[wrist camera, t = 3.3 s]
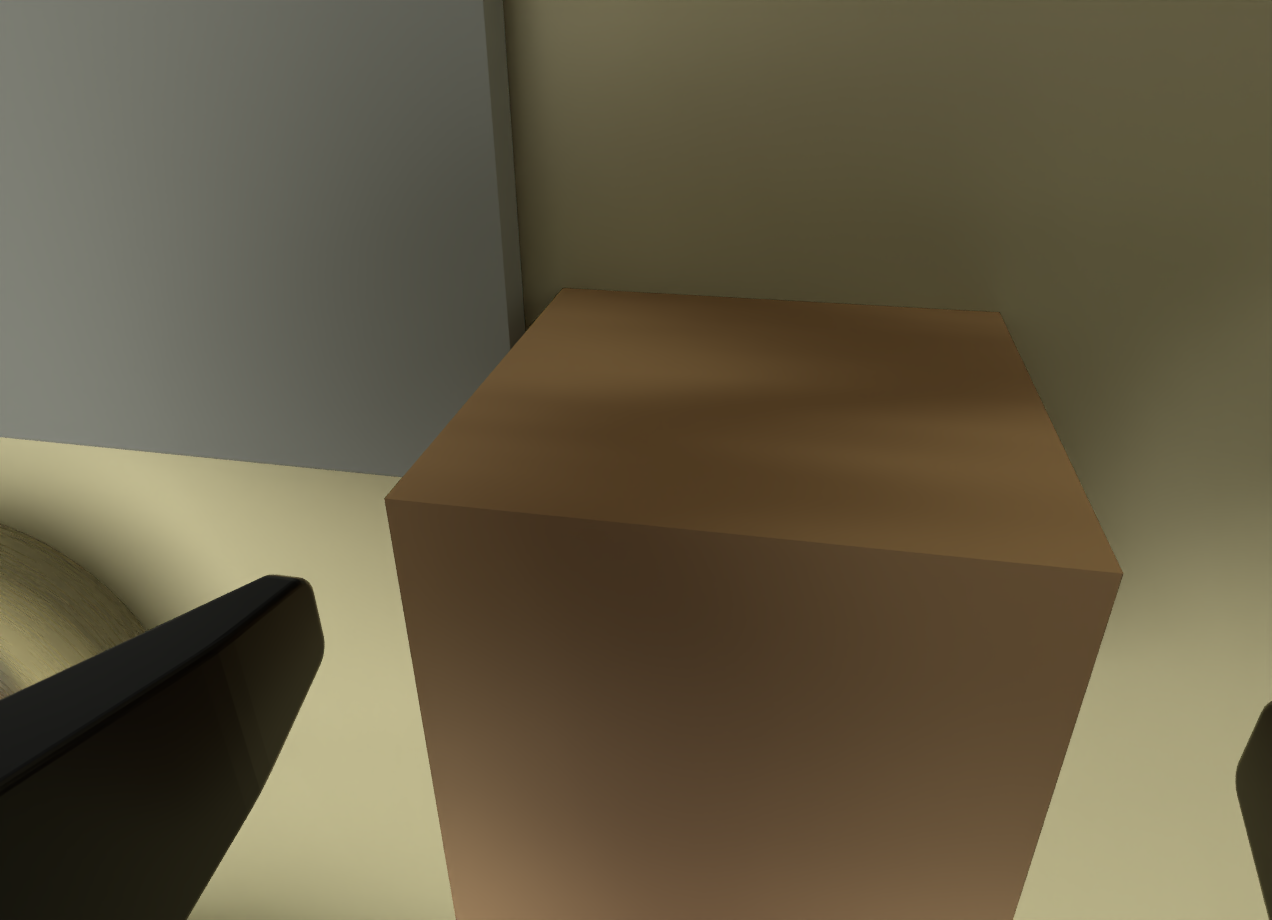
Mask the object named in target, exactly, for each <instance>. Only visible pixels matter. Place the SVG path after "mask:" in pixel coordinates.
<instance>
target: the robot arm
mask: <svg viewBox="0 0 1272 920" xmlns="http://www.w3.org/2000/svg"><path fill="white" fill-rule="evenodd" d="M323 654H324V636H323V631H322V627H321V622H320V618H319V614H318V609H317V605H316V600H315V596H314V592H313V589H312V586H311V585H310V583H309V582H308V581H307V580H305V579H303V578H299V577H291V576H283V575H266V576H264V577H262V578H259V579H257V580H255V581H253V582H251V583H249V584H247V585H244V586H242V587H240V588H238V589H236V590H234V591H232V592H229V593H227V594H225V595H223V596H221V597H219V598H217V599H215V600H212V601H210V602H208V603H206V604H204V605H202V606H200V607H197V608H195V609H193V610H191V611H189V612H187V613H185V614H182V615H180V616H178V617H176V618H174V619H172V620H170V621H167V622H165V623H163V624H161V625H159V626H157V627H155V628H153V629H150V630H148V631H146V632H144V633H142V634H140V635H138V636H135V637H133V638H131V639H129V640H127V641H125V642H123V643H120V644H118V645H116V646H114V647H112V648H110V649H108V650H106V651H103V652H101V653H99V654H97V655H95V656H93V657H91V658H88V659H86V660H84V661H82V662H80V663H78V664H76V665H73V666H71V667H69V668H67V669H65V670H63V671H61V672H58V673H56V674H54V675H52V676H50V677H48V678H46V679H44V680H41V681H39V682H37V683H35V684H33V685H31V686H29V687H26V688H24V689H22V690H20V691H18V692H16V693H14V694H11V695H9V696H7V697H5V698H3V699H1V700H0V920H187V918H188V916H189V915H190V913H191V911H192V910H193V908H194V906H195V904H196V903H197V901H198V899H199V898H200V896H201V894H202V893H203V891H204V889H205V888H206V886H207V884H208V882H209V881H210V879H211V877H212V876H213V874H214V872H215V871H216V869H217V867H218V865H219V864H220V862H221V860H222V859H223V857H224V855H225V854H226V852H227V850H228V848H229V847H230V845H231V843H232V842H233V840H234V838H235V837H236V835H237V833H238V832H239V830H240V828H241V826H242V825H243V823H244V821H245V820H246V818H247V816H248V815H249V813H250V811H251V809H252V807H253V806H254V804H255V802H256V800H257V798H258V797H259V795H260V793H261V791H262V789H263V787H264V785H265V783H266V781H267V779H268V777H269V775H270V773H271V771H272V769H273V767H274V765H275V762H276V760H277V758H278V756H279V754H280V752H281V749H282V747H283V745H284V743H285V741H286V739H287V736H288V734H289V732H290V730H291V728H292V725H293V723H294V721H295V719H296V717H297V715H298V712H299V710H300V708H301V706H302V704H303V702H304V699H305V697H306V695H307V693H308V691H309V688H310V686H311V684H312V682H313V680H314V678H315V675H316V673H317V671H318V669H319V667H320V664H321V662H322V658H323ZM1236 791H1237V796H1238V800H1239V804H1240V808H1241V812H1242V816H1243V820H1244V824H1245V827H1246V831H1247V835H1248V839H1249V843H1250V847H1251V851H1252V855H1253V859H1254V863H1255V866H1256V870H1257V874H1258V878H1259V882H1260V886H1261V890H1262V894H1263V898H1264V902H1265V906H1266V909H1267V913H1268V917H1269V920H1272V701H1271V702H1269V703H1268V704H1267V705H1266V706H1265V707H1264V709H1263V711H1262V712H1261V714H1260V717H1259V719H1258V721H1257V723H1256V725H1255V727H1254V730H1253V732H1252V734H1251V736H1250V738H1249V741H1248V743H1247V745H1246V747H1245V749H1244V752H1243V754H1242V756H1241V758H1240V760H1239V763H1238V766H1237V771H1236Z"/></svg>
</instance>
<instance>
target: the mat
mask: <svg viewBox="0 0 1272 920" xmlns="http://www.w3.org/2000/svg"><path fill="white" fill-rule="evenodd" d="M524 333H525V318H524V303H523V289H522V274H521V259H520V245H519V230H518V216H517V201H516V186H515V172H514V157H513V143H512V128H511V113H510V99H509V84H508V70H507V55H506V40H505V26H504V11H503V0H0V437H5V438H15V439H25V440H35V441H45V442H55V443H65V444H75V445H85V446H95V447H105V448H115V449H125V450H135V451H145V452H155V453H165V454H175V455H185V456H195V457H205V458H215V459H225V460H235V461H245V462H255V463H265V464H275V465H285V466H295V467H305V468H315V469H325V470H335V471H345V472H355V473H365V474H375V475H385V476H395V477H403V476H404V475H405V474H406V473H407V471H408V470H409V469H410V468H411V467H412V465H413V464H414V463H415V462H416V461H417V460H418V458H419V457H420V456H421V455H422V454H423V452H424V451H425V450H426V449H427V448H428V447H429V445H430V444H431V443H432V442H433V441H434V439H435V438H436V437H437V436H438V435H439V434H440V432H441V431H442V430H443V429H444V428H445V427H446V425H447V424H448V423H449V422H450V421H451V419H452V418H453V417H454V416H455V415H456V414H457V412H458V411H459V410H460V409H461V408H462V406H463V405H464V404H465V403H466V402H467V401H468V399H469V398H470V397H471V396H472V395H473V393H474V392H475V391H476V390H477V389H478V388H479V386H480V385H481V384H482V383H483V382H484V381H485V379H486V378H487V377H488V376H489V375H490V373H491V372H492V371H493V370H494V369H495V368H496V366H497V365H498V364H499V363H500V362H501V360H502V359H503V358H504V357H505V356H506V355H507V353H508V352H509V351H510V350H511V349H512V347H513V346H514V345H515V344H516V343H517V342H518V340H519V339H520V338H521V337H522V336H523V334H524Z"/></svg>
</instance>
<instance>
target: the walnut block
mask: <svg viewBox="0 0 1272 920" xmlns="http://www.w3.org/2000/svg"><path fill="white" fill-rule="evenodd" d="M384 499H385V505H386V511H387V516H388V522H389V528H390V534H391V540H392V546H393V552H394V558H395V564H396V569H397V575H398V581H399V587H400V593H401V599H402V605H403V611H404V616H405V622H406V628H407V634H408V640H409V646H410V652H411V658H412V664H413V669H414V675H415V681H416V687H417V693H418V699H419V705H420V711H421V716H422V722H423V728H424V734H425V740H426V746H427V752H428V758H429V764H430V769H431V775H432V781H433V787H434V793H435V799H436V805H437V811H438V816H439V822H440V828H441V834H442V840H443V846H444V852H445V858H446V864H447V869H448V875H449V881H450V887H451V893H452V899H453V905H454V911H455V916H456V920H1013V917H1014V914H1015V911H1016V908H1017V905H1018V902H1019V899H1020V896H1021V892H1022V889H1023V886H1024V883H1025V880H1026V877H1027V874H1028V871H1029V867H1030V864H1031V861H1032V858H1033V855H1034V852H1035V849H1036V845H1037V842H1038V839H1039V836H1040V833H1041V830H1042V827H1043V824H1044V820H1045V817H1046V814H1047V811H1048V808H1049V805H1050V802H1051V798H1052V795H1053V792H1054V789H1055V786H1056V783H1057V780H1058V777H1059V773H1060V770H1061V767H1062V764H1063V761H1064V758H1065V755H1066V751H1067V748H1068V745H1069V742H1070V739H1071V736H1072V733H1073V730H1074V726H1075V723H1076V720H1077V717H1078V714H1079V711H1080V708H1081V705H1082V701H1083V698H1084V695H1085V692H1086V689H1087V686H1088V683H1089V679H1090V676H1091V673H1092V670H1093V667H1094V664H1095V661H1096V658H1097V654H1098V651H1099V648H1100V645H1101V642H1102V639H1103V636H1104V632H1105V629H1106V626H1107V623H1108V620H1109V617H1110V614H1111V611H1112V607H1113V604H1114V601H1115V598H1116V595H1117V592H1118V589H1119V585H1120V582H1121V579H1122V576H1123V572H1122V570H1121V568H1120V566H1119V564H1118V561H1117V559H1116V557H1115V555H1114V553H1113V551H1112V549H1111V547H1110V545H1109V542H1108V540H1107V538H1106V536H1105V534H1104V532H1103V530H1102V528H1101V526H1100V523H1099V521H1098V519H1097V517H1096V515H1095V513H1094V511H1093V509H1092V507H1091V504H1090V502H1089V500H1088V498H1087V496H1086V494H1085V492H1084V490H1083V488H1082V485H1081V483H1080V481H1079V479H1078V477H1077V475H1076V473H1075V471H1074V469H1073V466H1072V464H1071V462H1070V460H1069V458H1068V456H1067V454H1066V452H1065V450H1064V447H1063V445H1062V443H1061V441H1060V439H1059V437H1058V435H1057V433H1056V431H1055V428H1054V426H1053V424H1052V422H1051V420H1050V418H1049V416H1048V414H1047V412H1046V409H1045V407H1044V405H1043V403H1042V401H1041V399H1040V397H1039V395H1038V393H1037V390H1036V388H1035V386H1034V384H1033V382H1032V380H1031V378H1030V376H1029V374H1028V372H1027V369H1026V367H1025V365H1024V363H1023V361H1022V359H1021V357H1020V355H1019V353H1018V350H1017V348H1016V346H1015V344H1014V342H1013V340H1012V338H1011V336H1010V334H1009V331H1008V329H1007V327H1006V325H1005V323H1004V321H1003V319H1002V317H1001V315H1000V312H983V311H965V310H947V309H929V308H912V307H894V306H876V305H858V304H840V303H822V302H804V301H787V300H769V299H751V298H733V297H715V296H697V295H679V294H662V293H644V292H626V291H608V290H590V289H572V288H562V290H561V291H560V292H559V293H558V294H557V296H556V297H555V298H554V299H553V300H552V301H551V303H550V304H549V305H548V306H547V307H546V309H545V310H544V311H543V312H542V313H541V314H540V316H539V317H538V318H537V319H536V320H535V322H534V323H533V324H532V325H531V326H530V327H529V329H528V330H527V331H526V332H525V333H524V334H523V336H522V337H521V338H520V339H519V340H518V342H517V343H516V344H515V345H514V346H513V347H512V349H511V350H510V351H509V352H508V353H507V355H506V356H505V357H504V358H503V359H502V360H501V362H500V363H499V364H498V365H497V366H496V368H495V369H494V370H493V371H492V372H491V373H490V375H489V376H488V377H487V378H486V379H485V381H484V382H483V383H482V384H481V385H480V386H479V388H478V389H477V390H476V391H475V392H474V393H473V395H472V396H471V397H470V398H469V399H468V401H467V402H466V403H465V404H464V405H463V406H462V408H461V409H460V410H459V411H458V412H457V414H456V415H455V416H454V417H453V418H452V419H451V421H450V422H449V423H448V424H447V425H446V427H445V428H444V429H443V430H442V431H441V432H440V434H439V435H438V436H437V437H436V438H435V439H434V441H433V442H432V443H431V444H430V445H429V447H428V448H427V449H426V450H425V451H424V452H423V454H422V455H421V456H420V457H419V458H418V460H417V461H416V462H415V463H414V464H413V465H412V467H411V468H410V469H409V470H408V471H407V473H406V474H405V475H404V476H403V477H402V478H401V480H400V481H399V482H398V483H397V484H396V486H395V487H394V488H393V489H392V490H391V491H390V493H389V494H388V495H387V496H386V497H385V498H384Z"/></svg>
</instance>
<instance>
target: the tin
mask: <svg viewBox="0 0 1272 920" xmlns="http://www.w3.org/2000/svg"><path fill="white" fill-rule="evenodd" d="M144 632H146V631H145V630H144V628H143V627H142V625H141V624H140V623H139V621H138V620H137V619H136V618H135V617H134V616H133V614H132V613H131V612H130V611H129V610H128V608H127V607H126V606H125V605H124V604H123V603H122V602H121V601H120V600H119V599H118V598H117V597H116V596H115V595H114V594H113V593H112V592H111V591H110V590H109V589H108V588H107V587H106V586H104V585H103V584H102V583H101V582H100V581H99V580H97V579H96V578H95V577H94V576H93V575H92V574H90V573H89V572H88V571H86V570H85V569H84V568H82V567H81V566H79V565H78V564H77V563H75V562H74V561H73V560H71V559H70V558H68V557H67V556H65V555H63V554H62V553H60V552H58V551H57V550H55V549H53V548H52V547H50V546H48V545H47V544H45V543H43V542H41V541H39V540H37V539H35V538H33V537H31V536H29V535H27V534H24V533H22V532H19V531H17V530H14V529H12V528H9V527H7V526H4V525H1V524H0V700H1V699H3V698H5V697H7V696H9V695H11V694H14V693H16V692H18V691H20V690H22V689H24V688H26V687H29V686H31V685H33V684H35V683H37V682H39V681H41V680H44V679H46V678H48V677H50V676H52V675H54V674H56V673H58V672H61V671H63V670H65V669H67V668H69V667H71V666H73V665H76V664H78V663H80V662H82V661H84V660H86V659H88V658H91V657H93V656H95V655H97V654H99V653H101V652H103V651H106V650H108V649H110V648H112V647H114V646H116V645H118V644H120V643H123V642H125V641H127V640H129V639H131V638H133V637H135V636H138V635H140V634H142V633H144Z"/></svg>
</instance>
